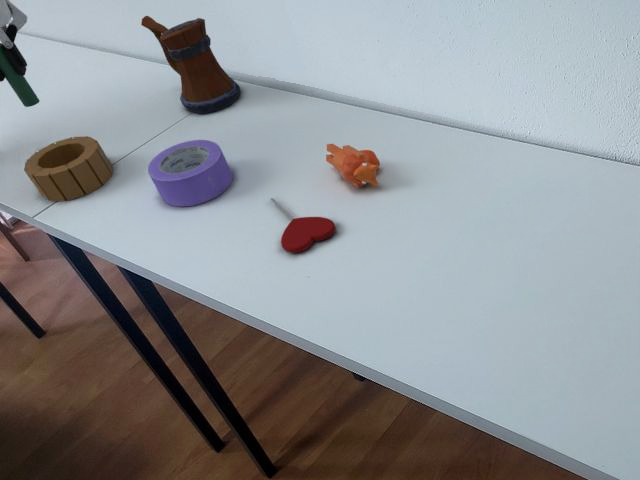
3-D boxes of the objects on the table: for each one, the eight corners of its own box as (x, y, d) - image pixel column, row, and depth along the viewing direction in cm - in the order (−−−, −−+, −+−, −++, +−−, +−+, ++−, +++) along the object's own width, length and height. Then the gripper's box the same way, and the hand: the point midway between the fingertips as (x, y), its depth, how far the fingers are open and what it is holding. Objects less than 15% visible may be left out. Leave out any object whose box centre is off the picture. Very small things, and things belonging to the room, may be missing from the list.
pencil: (23, 108, 102) (-21, 43, 94) (25, 102, 103) (-19, 37, 96) (39, 104, 102) (-4, 38, 94) (40, 98, 104) (-2, 33, 96)
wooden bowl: (39, 209, 106) (20, 183, 103) (45, 174, 114) (28, 149, 111) (112, 187, 108) (96, 161, 104) (113, 154, 116) (98, 129, 112)
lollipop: (249, 213, 97) (291, 258, 89) (246, 208, 97) (289, 252, 88) (295, 190, 100) (341, 231, 91) (294, 185, 99) (339, 226, 91)
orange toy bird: (314, 138, 99) (358, 164, 92) (354, 133, 103) (399, 157, 97) (314, 170, 102) (357, 197, 95) (354, 163, 106) (397, 188, 100)
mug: (154, 101, 129) (115, 24, 118) (199, 76, 135) (166, 1, 124) (207, 120, 121) (170, 38, 110) (253, 92, 126) (222, 13, 115)
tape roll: (246, 180, 104) (234, 153, 101) (183, 216, 99) (168, 188, 96) (210, 158, 111) (198, 132, 107) (150, 191, 106) (134, 164, 102)
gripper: (-148, -37, 82) (-45, 99, 95) (-18, -68, 84) (64, 69, 98) (-133, -52, 87) (-37, 80, 100) (-10, -80, 89) (67, 52, 103)
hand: (12, 74), depth 99 cm, fingers closed on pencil, 2 cm apart
